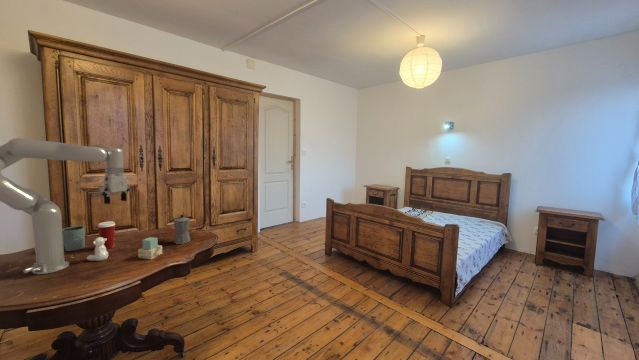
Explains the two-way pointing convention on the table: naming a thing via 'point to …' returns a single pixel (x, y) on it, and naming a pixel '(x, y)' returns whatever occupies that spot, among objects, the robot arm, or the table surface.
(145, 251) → the beech block
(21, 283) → the table surface
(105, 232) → the coffee cup
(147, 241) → the teal cube
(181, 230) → the coffeepot
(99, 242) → the sitting furry creature
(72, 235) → the teal plant pot
